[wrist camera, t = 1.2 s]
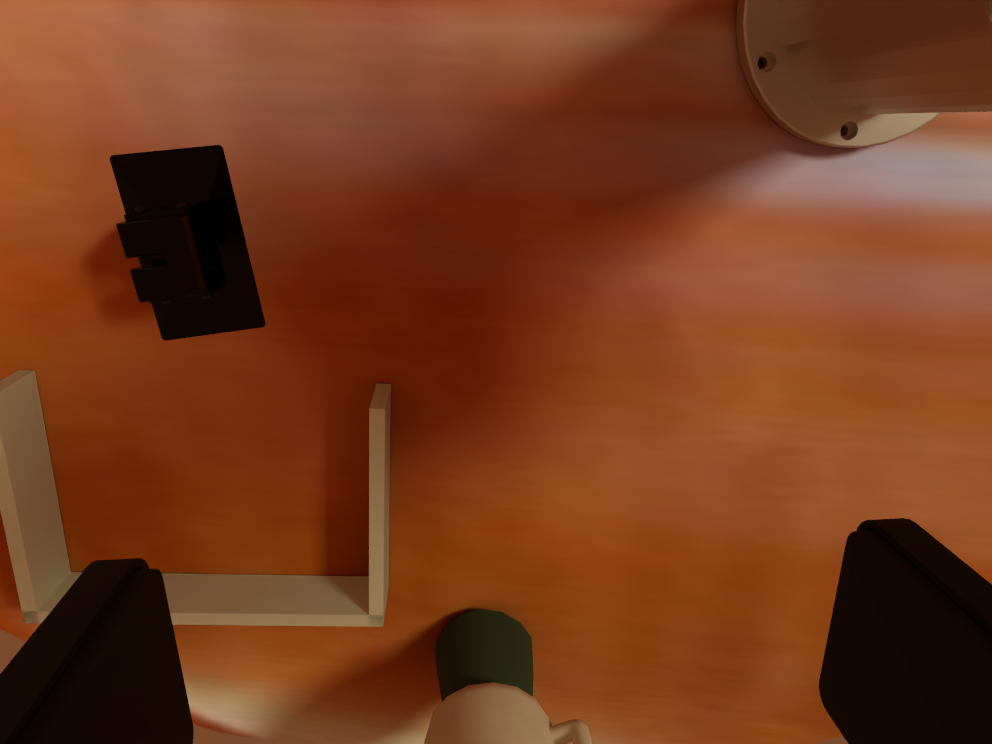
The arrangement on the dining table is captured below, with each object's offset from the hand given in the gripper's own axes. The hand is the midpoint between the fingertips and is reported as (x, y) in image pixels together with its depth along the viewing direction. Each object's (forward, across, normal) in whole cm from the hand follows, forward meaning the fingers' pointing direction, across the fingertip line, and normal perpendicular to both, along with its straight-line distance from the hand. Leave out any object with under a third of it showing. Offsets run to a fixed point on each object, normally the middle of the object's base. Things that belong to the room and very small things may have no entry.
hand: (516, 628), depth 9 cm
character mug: (+28, -1, +25) cm, 38 cm away
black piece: (+29, +13, -1) cm, 32 cm away
